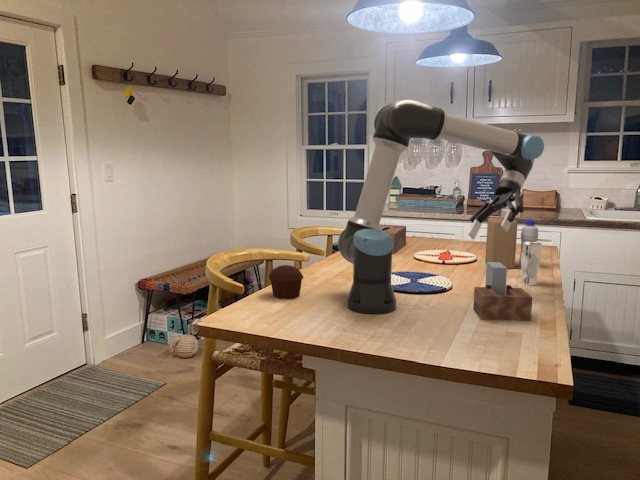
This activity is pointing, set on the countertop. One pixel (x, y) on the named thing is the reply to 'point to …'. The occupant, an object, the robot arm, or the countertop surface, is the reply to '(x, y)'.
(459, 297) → the countertop surface
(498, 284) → the peg
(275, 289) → the muffin
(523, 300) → the socket block
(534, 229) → the bottle
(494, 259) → the wooden block
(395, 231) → the tissue box cover
